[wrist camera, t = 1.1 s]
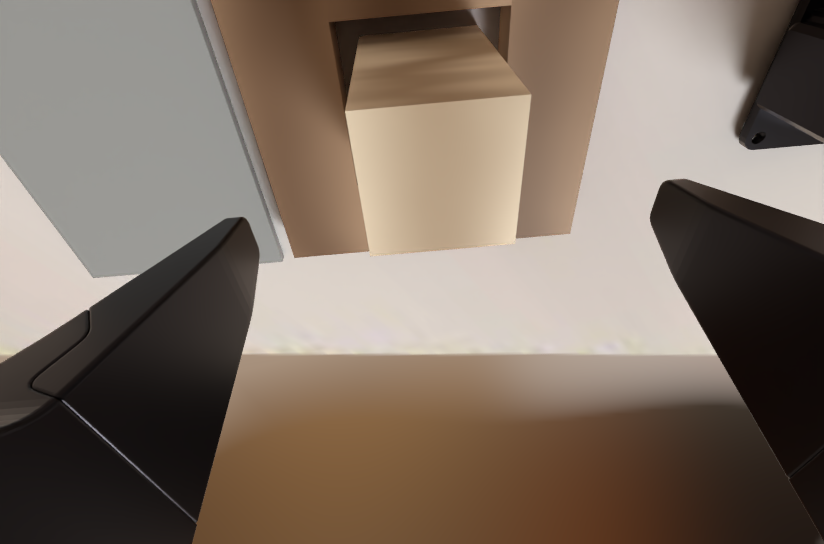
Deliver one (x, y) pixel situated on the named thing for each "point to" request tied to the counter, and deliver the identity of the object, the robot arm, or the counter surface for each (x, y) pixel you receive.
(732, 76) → the counter surface
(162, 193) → the mat
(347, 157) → the pocket board
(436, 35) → the block
